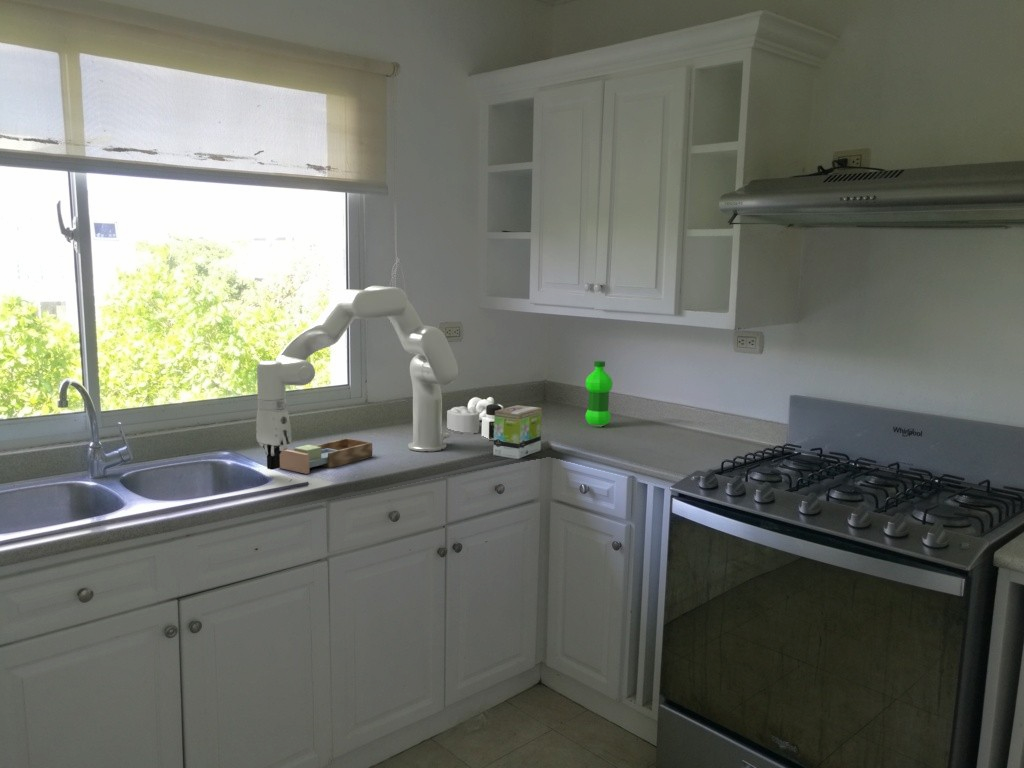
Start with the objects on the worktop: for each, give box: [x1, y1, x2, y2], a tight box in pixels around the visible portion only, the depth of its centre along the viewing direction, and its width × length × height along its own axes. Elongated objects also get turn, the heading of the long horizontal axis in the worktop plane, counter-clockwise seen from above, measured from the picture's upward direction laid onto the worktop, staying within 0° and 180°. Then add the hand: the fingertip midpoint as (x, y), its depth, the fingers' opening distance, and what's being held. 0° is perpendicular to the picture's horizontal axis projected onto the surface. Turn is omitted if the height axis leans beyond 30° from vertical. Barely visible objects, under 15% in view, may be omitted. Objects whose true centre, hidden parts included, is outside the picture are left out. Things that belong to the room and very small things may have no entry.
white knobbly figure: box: [467, 396, 495, 420], centre depth 312 cm, size 11×12×9 cm
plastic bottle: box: [585, 360, 613, 426], centre depth 302 cm, size 10×10×25 cm
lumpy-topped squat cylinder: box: [446, 405, 480, 432], centre depth 291 cm, size 10×13×9 cm
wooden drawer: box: [279, 448, 338, 475], centre depth 237 cm, size 18×12×6 cm, turn 146°
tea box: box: [492, 404, 543, 460], centre depth 257 cm, size 15×10×15 cm, turn 151°
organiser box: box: [314, 437, 373, 469], centre depth 245 cm, size 18×11×4 cm, turn 146°
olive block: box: [293, 444, 321, 461], centre depth 235 cm, size 6×6×4 cm
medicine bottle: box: [481, 403, 504, 439], centre depth 279 cm, size 7×7×12 cm
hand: (273, 468), depth 225 cm, fingers closed
